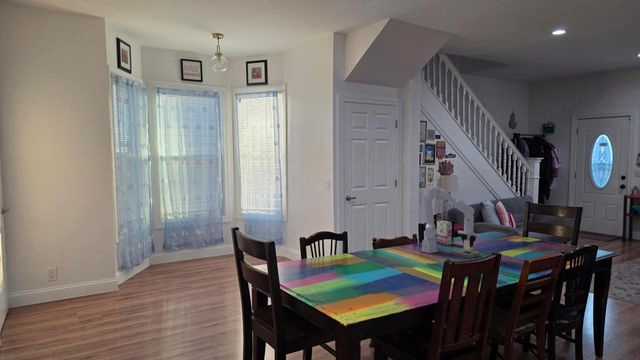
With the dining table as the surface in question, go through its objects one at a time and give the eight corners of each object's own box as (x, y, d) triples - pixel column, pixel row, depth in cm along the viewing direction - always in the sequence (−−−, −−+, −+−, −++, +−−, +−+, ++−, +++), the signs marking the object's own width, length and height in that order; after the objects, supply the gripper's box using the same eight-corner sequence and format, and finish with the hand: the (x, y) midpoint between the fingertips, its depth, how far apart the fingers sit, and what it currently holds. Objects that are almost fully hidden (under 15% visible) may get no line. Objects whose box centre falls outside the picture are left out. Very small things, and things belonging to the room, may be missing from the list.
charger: (469, 250, 266) (469, 240, 266) (463, 248, 269) (463, 239, 269) (472, 249, 269) (473, 239, 268) (467, 248, 272) (467, 238, 271)
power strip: (469, 258, 262) (469, 254, 261) (450, 254, 273) (450, 250, 272) (480, 255, 269) (480, 251, 269) (461, 251, 280) (461, 247, 280)
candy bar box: (451, 244, 299) (452, 222, 297) (446, 245, 297) (447, 223, 295) (441, 241, 309) (441, 220, 307) (436, 242, 307) (436, 220, 305)
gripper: (482, 226, 264) (481, 247, 265) (462, 223, 276) (461, 243, 277) (476, 228, 260) (475, 249, 261) (456, 224, 272) (455, 245, 273)
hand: (468, 246), depth 269 cm, fingers closed on charger, 4 cm apart
